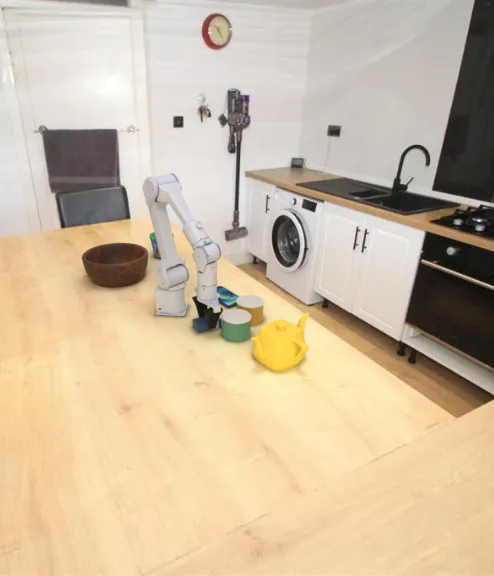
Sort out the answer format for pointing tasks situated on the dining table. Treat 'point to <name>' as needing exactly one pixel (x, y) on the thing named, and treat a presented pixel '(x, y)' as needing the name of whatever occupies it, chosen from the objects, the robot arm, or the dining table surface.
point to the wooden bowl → (115, 264)
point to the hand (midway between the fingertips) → (207, 323)
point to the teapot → (280, 344)
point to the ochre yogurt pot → (251, 307)
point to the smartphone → (226, 297)
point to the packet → (204, 324)
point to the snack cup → (155, 245)
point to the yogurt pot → (236, 324)
